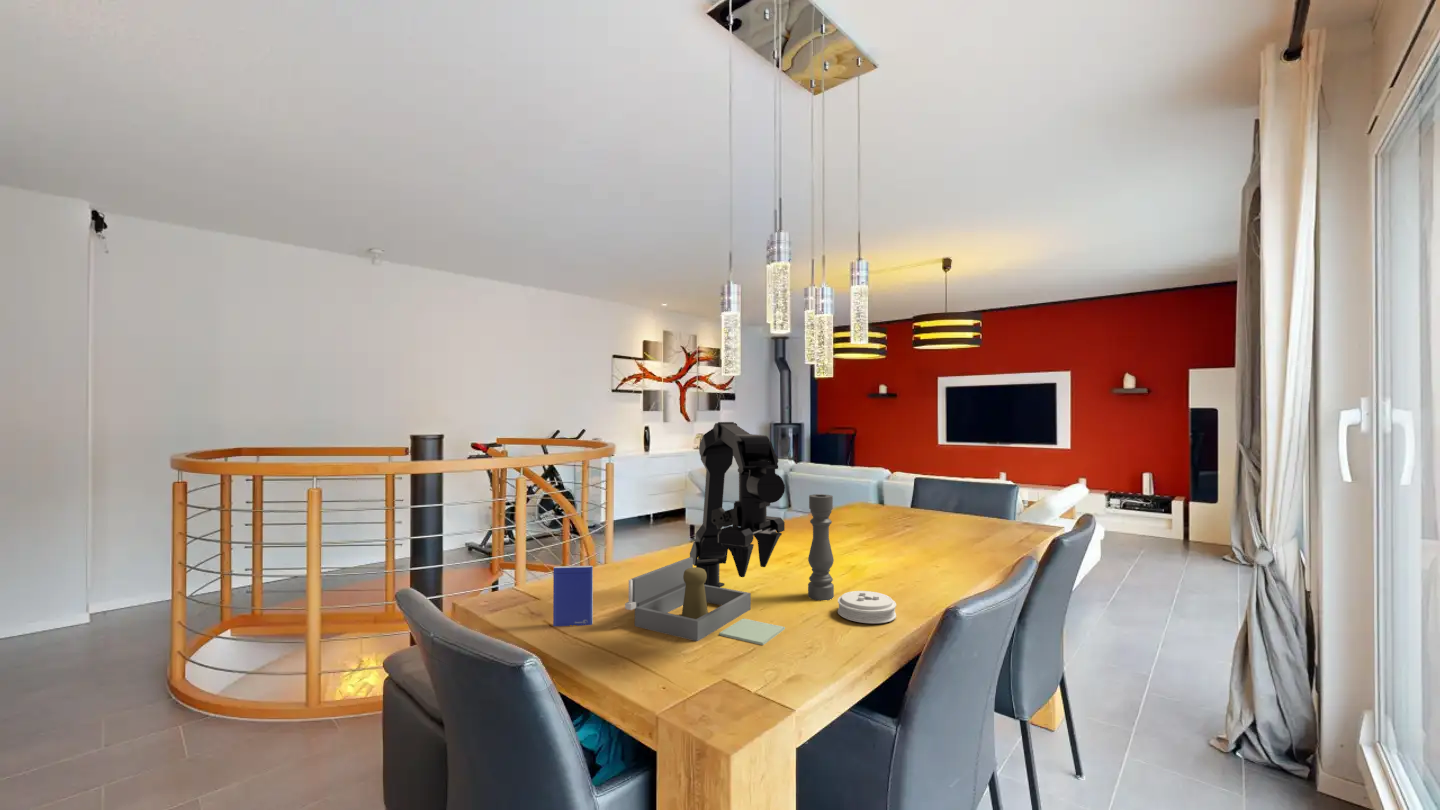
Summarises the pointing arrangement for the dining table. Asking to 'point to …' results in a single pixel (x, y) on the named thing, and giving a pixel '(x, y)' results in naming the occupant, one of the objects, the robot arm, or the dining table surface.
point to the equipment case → (680, 603)
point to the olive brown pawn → (694, 593)
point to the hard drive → (572, 595)
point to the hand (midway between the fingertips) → (752, 571)
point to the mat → (752, 631)
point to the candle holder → (820, 548)
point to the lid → (866, 607)
